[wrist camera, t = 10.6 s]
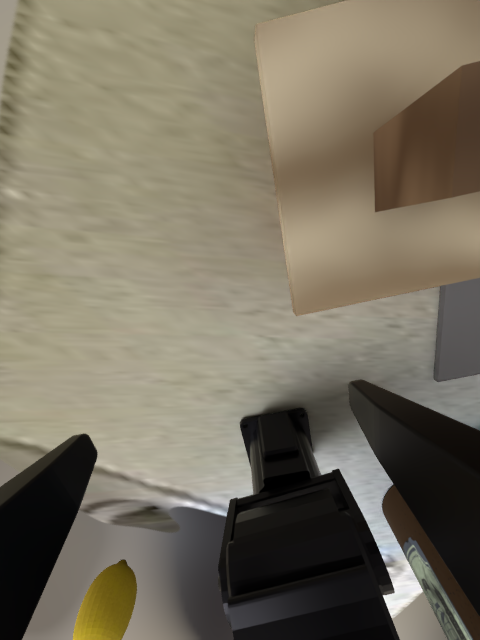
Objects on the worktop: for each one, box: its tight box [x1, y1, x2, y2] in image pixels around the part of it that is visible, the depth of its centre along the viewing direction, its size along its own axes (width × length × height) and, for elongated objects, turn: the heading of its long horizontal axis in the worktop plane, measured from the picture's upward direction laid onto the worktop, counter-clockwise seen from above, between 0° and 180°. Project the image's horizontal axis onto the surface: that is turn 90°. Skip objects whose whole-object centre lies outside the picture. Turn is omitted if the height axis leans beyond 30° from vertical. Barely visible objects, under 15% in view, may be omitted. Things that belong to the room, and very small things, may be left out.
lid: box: [254, 0, 480, 316], centre depth 10 cm, size 13×13×5 cm
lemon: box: [73, 560, 137, 640], centre depth 26 cm, size 6×6×8 cm
